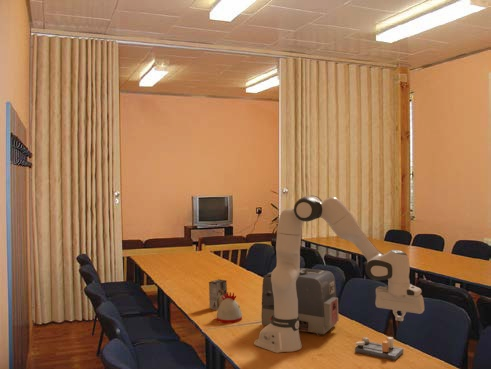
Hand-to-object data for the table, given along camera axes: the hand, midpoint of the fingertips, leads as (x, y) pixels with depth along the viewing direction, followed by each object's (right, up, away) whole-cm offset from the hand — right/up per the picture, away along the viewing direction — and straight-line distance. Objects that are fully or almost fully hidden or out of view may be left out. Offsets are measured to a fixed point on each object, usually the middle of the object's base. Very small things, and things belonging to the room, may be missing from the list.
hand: (399, 320), depth 213 cm
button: (-11, -14, +16) cm, 24 cm away
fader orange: (-5, -14, +4) cm, 16 cm away
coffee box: (-82, -15, +84) cm, 118 cm away
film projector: (-37, -16, +45) cm, 60 cm away
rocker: (-14, -14, +11) cm, 22 cm away
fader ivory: (-1, -14, +9) cm, 17 cm away
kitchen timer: (-75, -16, +61) cm, 98 cm away
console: (-6, -17, +9) cm, 20 cm away
